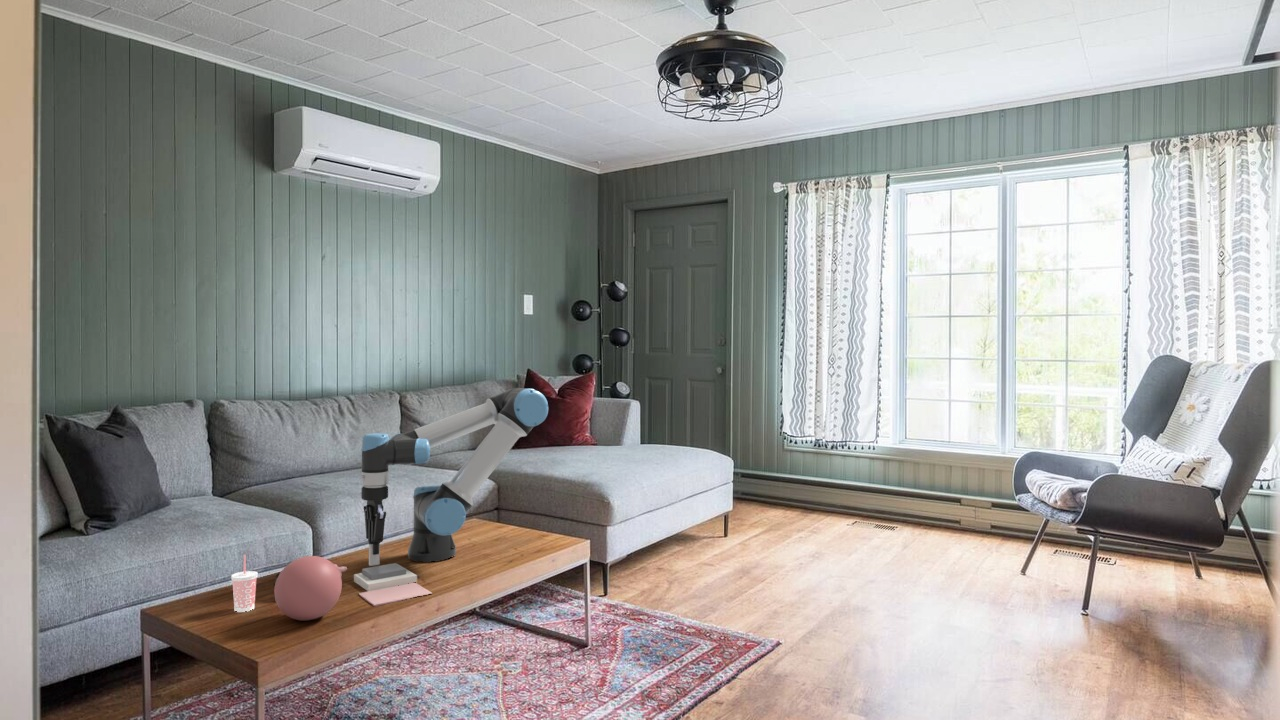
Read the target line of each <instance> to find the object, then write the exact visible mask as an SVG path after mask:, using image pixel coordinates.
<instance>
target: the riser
mask: <svg viewBox="0 0 1280 720" xmlns="http://www.w3.org/2000/svg"><path fill="white" fill-rule="evenodd" d="M405 569H406V574H405V575H399V576H394V577H389V578H383V579H378V580H370V579H369V578H367V577H366V576H364V575H363V574H362V572H359V573H355V574H354V573H353V582H354V583H355V584H357V585H358V586H360V587H361V588H363V589H364V590H365V591H366V592H368V591H373V590H378V589H383V588H389V587H394V586H398V585H404V584H408V583H413V582H416V583H418V574H415V573H414V572H412V571H410V570H408V569H407V568H405Z"/></svg>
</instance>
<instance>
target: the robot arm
mask: <svg viewBox="0 0 1280 720" xmlns="http://www.w3.org/2000/svg"><path fill="white" fill-rule="evenodd" d="M548 414H549V404H548V400H547V398H546V396H545V395H544V394H543V393H542V392H540V391H538V390H536V389H534V388H525V387H513V388H510V389H507V390H506V391H503V392H501V393H499V394H496V395H495V396H492V397H491V396H490V397H489V398H487V399H486V400H485V402H484V403H481V404H479V405H476V406H474V407H471V408H469V409H465V410H462V411H459V412H458V413H455V414H452V415H450V416H447V417H445V418H442V419H438V420H437V421H436V420H435V421H433V422H430V423H429V424H428V423H427V424H425V425H423V426H421V427H417V428H415V429H412V430H410V431H407V432H404V433H396V434H394V435H393V436H391V438H390V437H389V434H388V433H385V432H384V433H383V432H373V433H367V434H366V433H365V434H364V435H363V437H362V440H361V443H362V444H361V445H362V446H361V475H360V476H359V478H360V479H361V485H362V487H361V493H360V494H361V495H360V496H361V499H362V500H363V501H366V505H364V506H363V512H364V522H365V523H364V525H365V538H366V540H367V542H368V566H369V567H374V566H380V564H381V562H380V557H381V556H380V553H381V547H380V546H381V543H383V542H384V533H385V521H386V516H387V511H384V505H383V500H386V499H387V498H388V497H389V486H388V484H389V474H390V473H389V465H391V466H394V465H410V464H411V465H413V464H414V465H415V464H416V465H418V464H425V463H428V462H429V460H430V456H431V449H432V448H435V447H437V446H439V445H442V444H445V443H447V442H450V441H453V440H456V439H457V438H461V437H463V436H465V435H466V436H467V435H468V434H471V433H474V432H476V431H478V430H481V429H485V428H486V427H489V426H491V425H494V426H493V427H492V429H491V430H490V431H489V432H488V434H486V436H485V437H484V438H483V440H482V441H481V442H480V443H479V444H478V446H477V447H476V448H475V450H474V451H473V453H472V454H471V455H470V456H469V457H468V459H467V460H466V461H465V462H464V464H463V465H462V466H461V467H460V468H459V470H458V471H457V472H456V474H455V475H454V476H453V478H452V479H451V480H450V481H445V482H442V483H441V484H440V485H439V484H436V485H435V484H434V485H422V486H421V485H420V486H417V487H415V488H414V490H413V496H412V498H413V534H412V537H411V540H410V543H409V546H408V551H407V558H409V560H410V559H411V560H410V561H413V560H415V561H414V562H418V561H423V562H422V563H431V561H435V562H440V561H439V560H442V561H445V560H444V559H447V558H450V557H452V556H454V555H455V554H456V555H457V548H456V544H455V541H454V538H453V534H455V533H457V532H458V531H460V529H462V527H463V525H464V524H465V521H466V518H467V517H466V516H467V513H468V512H469V511H470V509H471V508H472V507H473V505H474V504H473V498H474V496H475V494H477V492H478V491H479V490H480V488H482V486H483V485H484V484H485V482H486V481H487V480H488V478H489V476H491V474H492V473H493V472H494V471H495V469H496V468H497V467H498V466H499V465H500V463H501V462H502V460H503V459H504V458H505V457H506V455H507V454H508V453H509V452H510V450H511V449H512V448H513V446H514V445H515V444H516V443H517V441H518V440H519V439H520V438H522V437H523V438H524V437H527V436H528V434H529V433H530V432H532V429H534V427H536V426H539V425H540V424H542V423H543V422H545V420H546V419H547V417H548ZM456 555H455V556H456ZM455 556H454V557H455ZM450 559H451V558H450ZM447 560H448V559H447Z"/></svg>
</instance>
